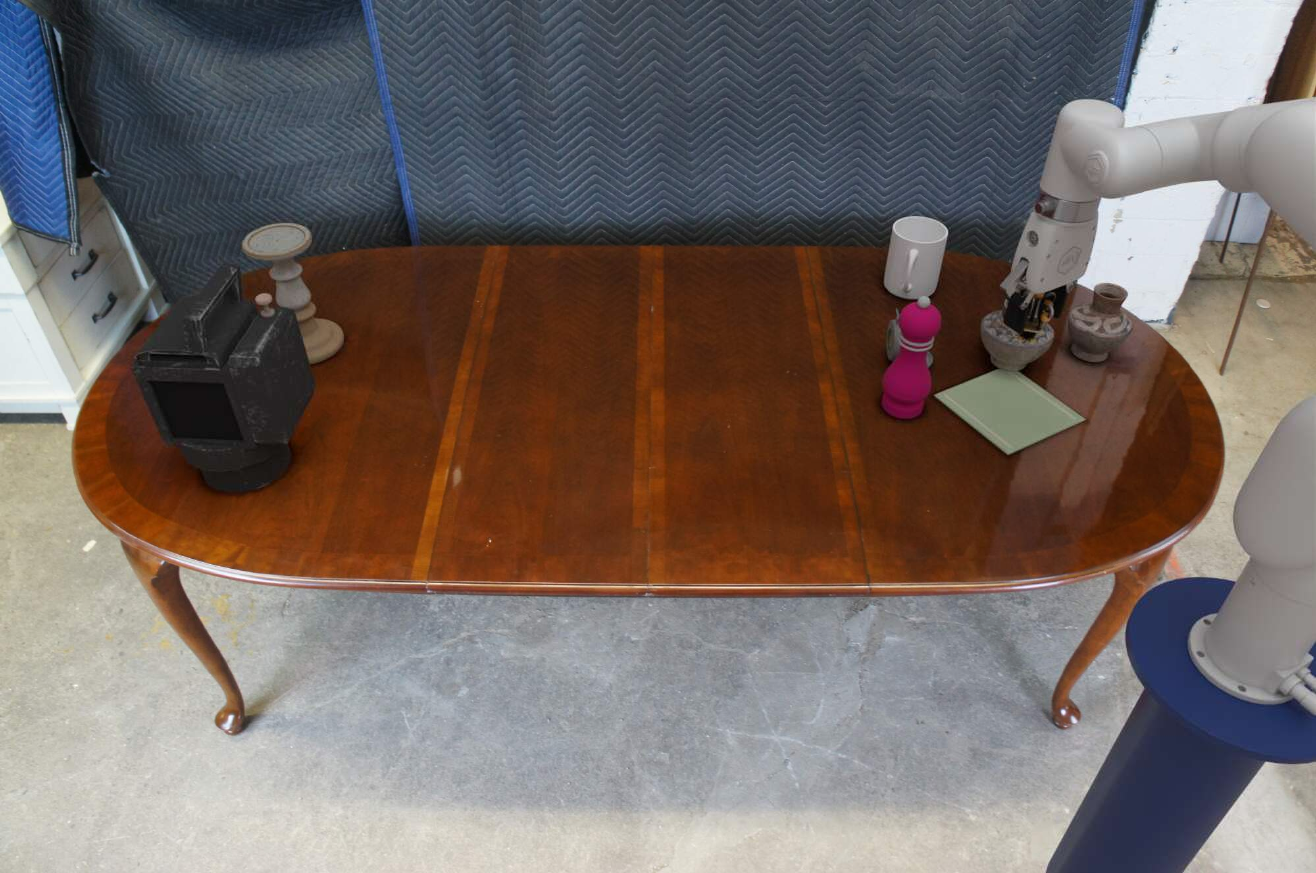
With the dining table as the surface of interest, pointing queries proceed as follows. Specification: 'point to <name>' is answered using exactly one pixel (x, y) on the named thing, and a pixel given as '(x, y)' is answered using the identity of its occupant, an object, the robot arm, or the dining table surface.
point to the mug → (915, 257)
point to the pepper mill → (911, 361)
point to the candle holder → (294, 284)
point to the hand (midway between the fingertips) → (1031, 319)
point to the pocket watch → (894, 344)
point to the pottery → (1087, 325)
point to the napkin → (1009, 409)
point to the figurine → (1033, 323)
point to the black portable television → (227, 382)
